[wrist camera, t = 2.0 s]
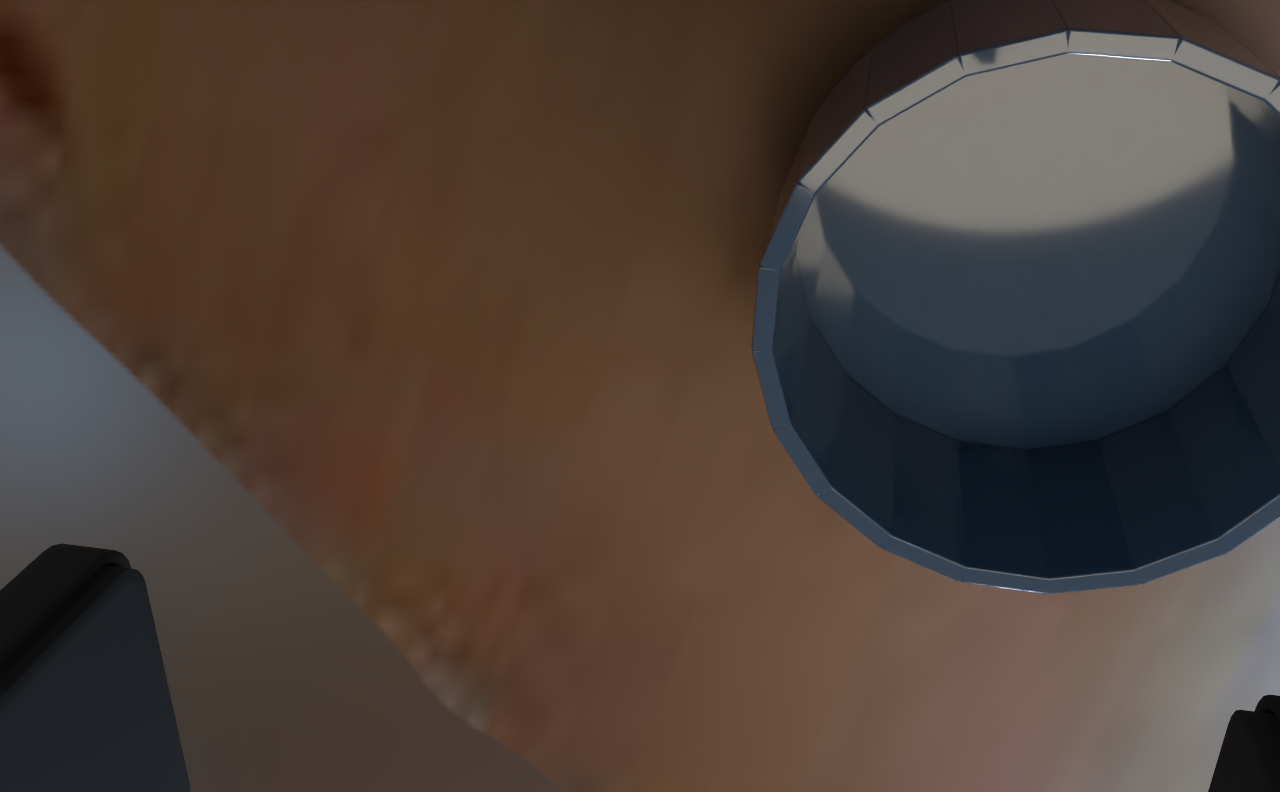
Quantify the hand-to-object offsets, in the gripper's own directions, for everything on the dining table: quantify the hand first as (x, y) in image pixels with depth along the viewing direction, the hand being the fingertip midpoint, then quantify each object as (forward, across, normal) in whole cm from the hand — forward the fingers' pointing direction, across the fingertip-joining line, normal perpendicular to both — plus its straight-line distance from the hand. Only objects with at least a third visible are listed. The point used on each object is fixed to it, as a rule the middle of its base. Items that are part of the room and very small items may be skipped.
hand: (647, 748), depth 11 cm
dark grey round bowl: (+25, -6, +4) cm, 26 cm away
